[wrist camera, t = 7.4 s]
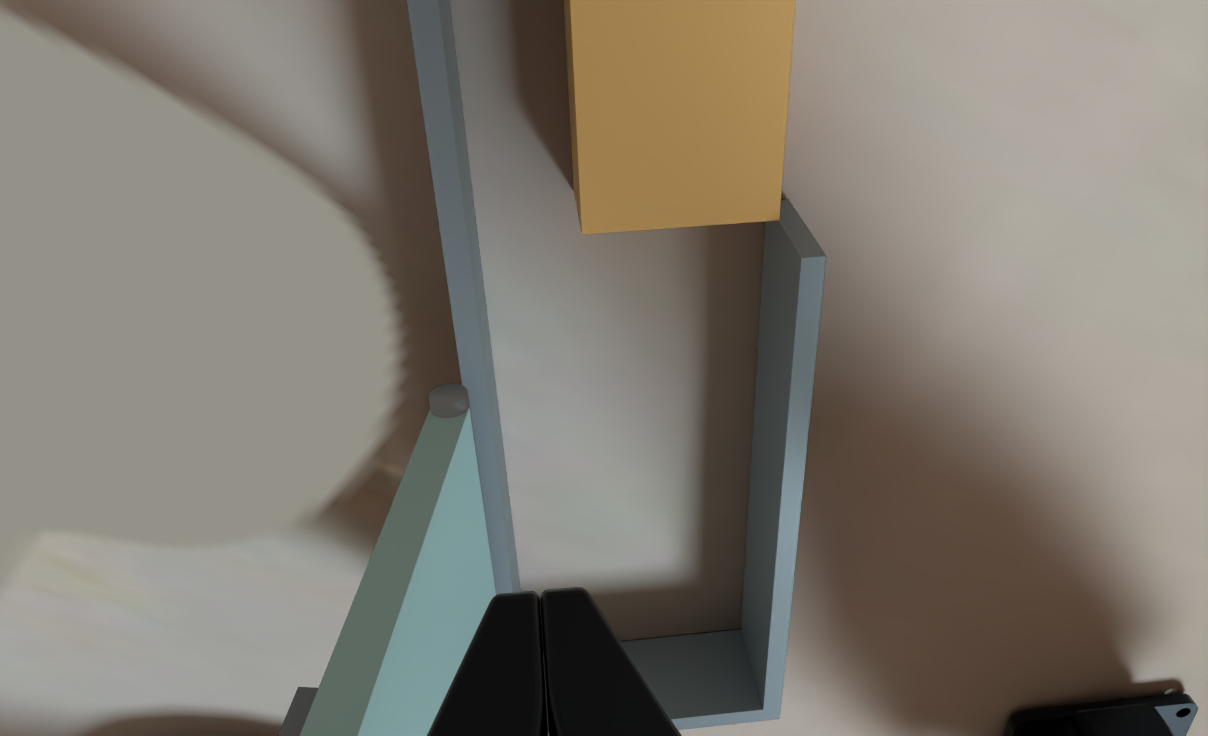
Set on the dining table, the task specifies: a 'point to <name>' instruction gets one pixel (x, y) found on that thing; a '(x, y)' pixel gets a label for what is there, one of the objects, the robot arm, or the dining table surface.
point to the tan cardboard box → (677, 111)
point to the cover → (411, 593)
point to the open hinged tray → (779, 441)
